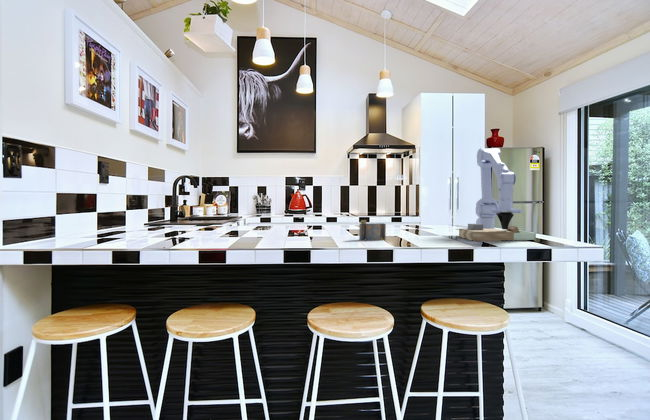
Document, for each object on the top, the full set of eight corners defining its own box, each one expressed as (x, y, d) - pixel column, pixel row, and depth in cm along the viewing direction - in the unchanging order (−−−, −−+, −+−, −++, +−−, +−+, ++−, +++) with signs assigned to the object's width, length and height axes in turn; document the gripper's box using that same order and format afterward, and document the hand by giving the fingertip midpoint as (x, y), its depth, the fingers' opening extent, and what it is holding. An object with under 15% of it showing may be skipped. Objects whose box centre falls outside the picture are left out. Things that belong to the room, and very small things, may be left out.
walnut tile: (505, 228, 158) (510, 225, 157) (510, 237, 158) (515, 235, 158) (512, 229, 153) (517, 226, 152) (517, 239, 153) (522, 236, 153)
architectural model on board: (361, 241, 151) (361, 219, 151) (359, 240, 154) (359, 219, 154) (385, 241, 153) (386, 219, 152) (383, 240, 156) (383, 218, 155)
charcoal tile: (467, 228, 164) (467, 223, 164) (478, 228, 165) (478, 223, 164) (472, 229, 159) (472, 224, 159) (483, 229, 160) (483, 224, 159)
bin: (495, 236, 167) (495, 229, 166) (515, 236, 167) (515, 229, 167) (513, 240, 152) (513, 233, 151) (535, 240, 152) (535, 232, 152)
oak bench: (459, 236, 166) (459, 228, 166) (495, 236, 167) (495, 228, 166) (473, 240, 151) (473, 231, 151) (513, 240, 152) (513, 231, 151)
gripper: (494, 199, 150) (493, 230, 151) (526, 199, 151) (525, 230, 152) (486, 199, 158) (485, 228, 158) (517, 199, 158) (516, 228, 159)
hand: (504, 229), depth 155 cm, fingers closed
